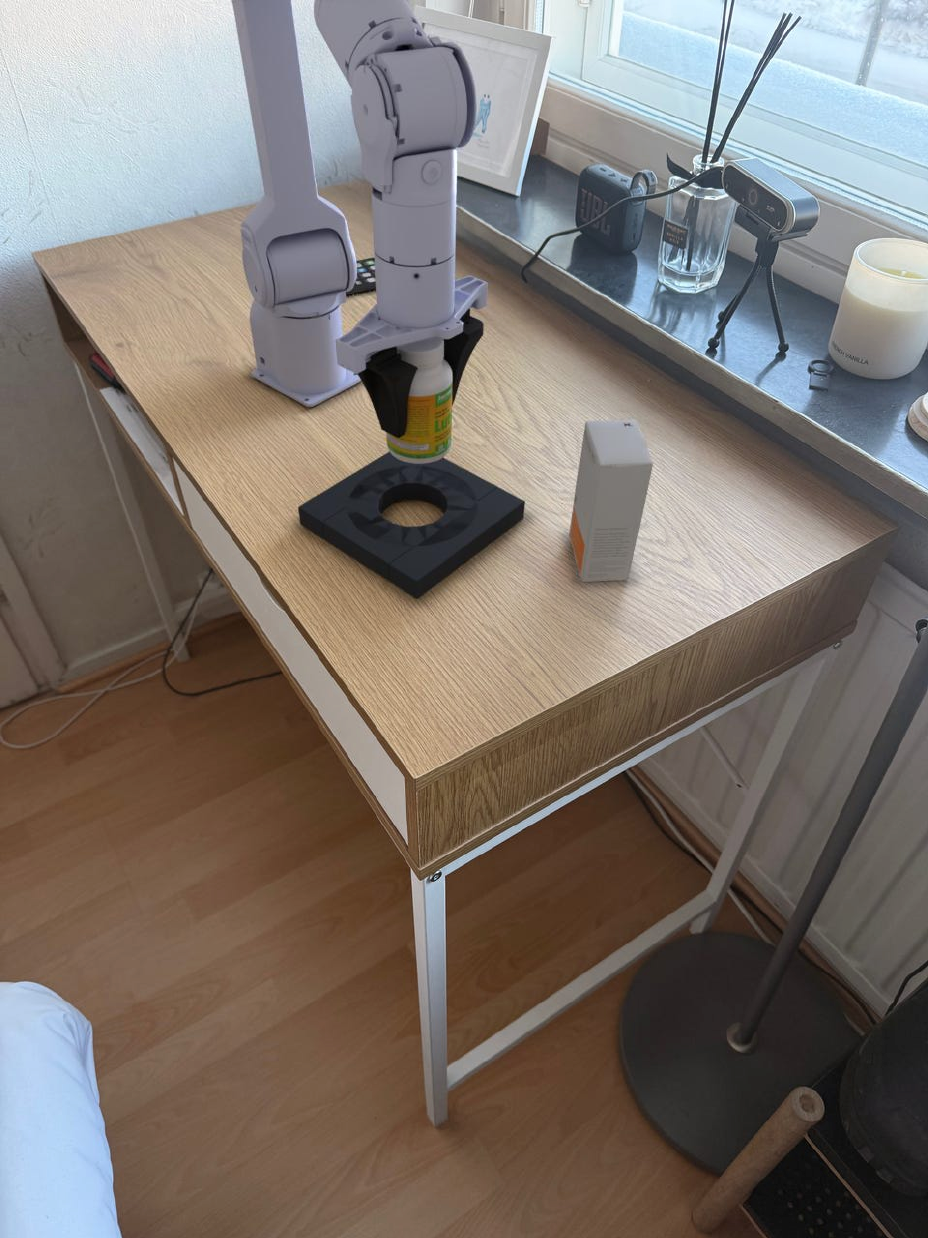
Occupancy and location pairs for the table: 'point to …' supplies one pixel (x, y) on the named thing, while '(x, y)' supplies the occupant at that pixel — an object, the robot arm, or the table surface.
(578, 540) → the cosmetic box
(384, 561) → the socket pad
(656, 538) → the table surface
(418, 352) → the supplement bottle
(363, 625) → the table surface
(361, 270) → the smartphone
